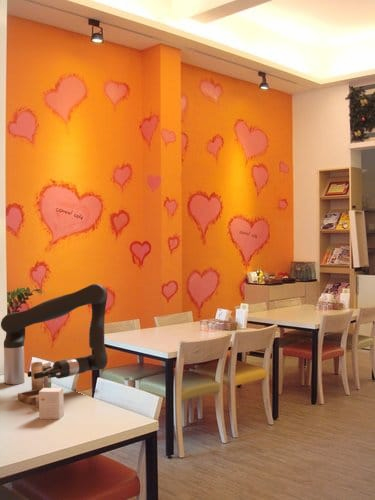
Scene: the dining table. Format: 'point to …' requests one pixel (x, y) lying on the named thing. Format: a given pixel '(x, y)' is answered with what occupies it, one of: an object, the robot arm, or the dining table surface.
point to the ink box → (48, 378)
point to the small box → (51, 403)
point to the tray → (29, 396)
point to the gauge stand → (44, 387)
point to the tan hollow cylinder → (38, 383)
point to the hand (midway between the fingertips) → (31, 375)
